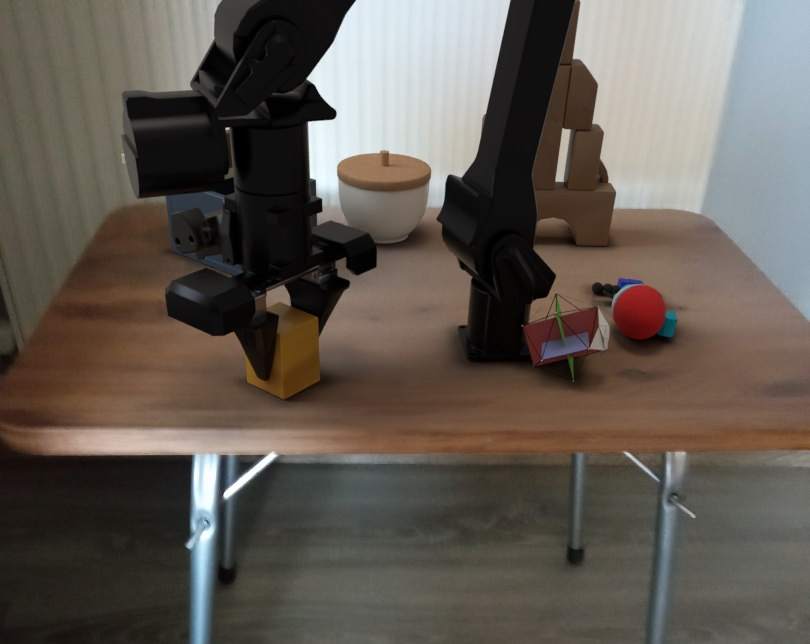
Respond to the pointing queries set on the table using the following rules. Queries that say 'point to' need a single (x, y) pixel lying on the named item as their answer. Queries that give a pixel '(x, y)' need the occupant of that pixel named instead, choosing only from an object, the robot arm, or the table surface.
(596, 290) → the toy figure
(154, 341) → the table surface
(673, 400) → the table surface
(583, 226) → the wooden toy
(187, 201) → the box
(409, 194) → the trinket box
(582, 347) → the geometric puzzle
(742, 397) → the table surface
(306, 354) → the block
